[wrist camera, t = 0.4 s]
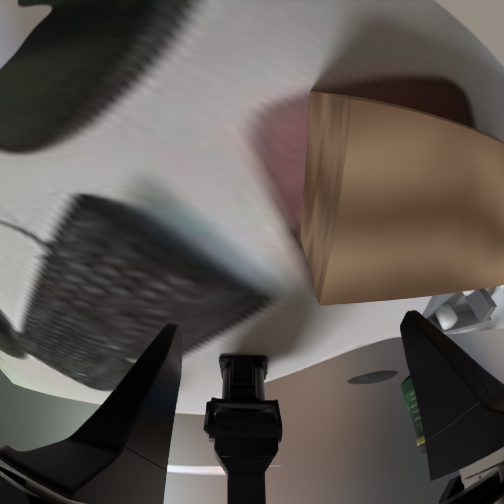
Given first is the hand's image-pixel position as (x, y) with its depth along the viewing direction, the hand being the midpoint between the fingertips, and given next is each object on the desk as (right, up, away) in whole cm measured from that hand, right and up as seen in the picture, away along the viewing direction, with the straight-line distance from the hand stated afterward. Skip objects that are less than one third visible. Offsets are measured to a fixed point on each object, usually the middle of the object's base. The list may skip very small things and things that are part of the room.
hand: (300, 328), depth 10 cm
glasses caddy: (+29, -2, +20) cm, 35 cm away
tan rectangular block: (+13, +9, +11) cm, 19 cm away
